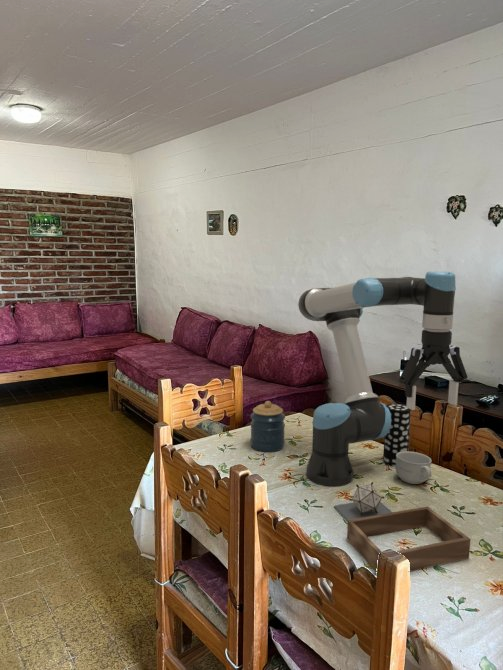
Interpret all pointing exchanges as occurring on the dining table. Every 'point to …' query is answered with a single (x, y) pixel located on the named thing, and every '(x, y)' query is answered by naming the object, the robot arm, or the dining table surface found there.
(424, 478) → the teacup
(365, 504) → the game die
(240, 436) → the dining table surface
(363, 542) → the rectangular frame
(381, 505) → the pad
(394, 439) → the white-spotted black cylinder
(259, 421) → the canister
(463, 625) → the dining table surface
